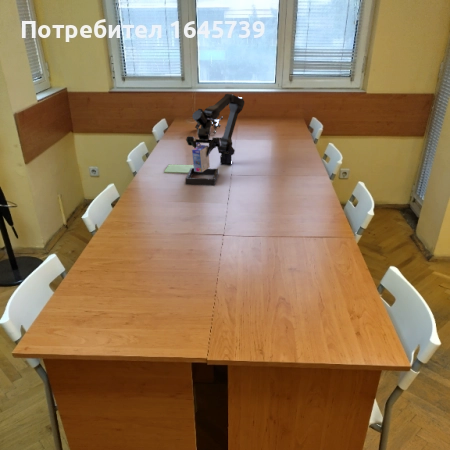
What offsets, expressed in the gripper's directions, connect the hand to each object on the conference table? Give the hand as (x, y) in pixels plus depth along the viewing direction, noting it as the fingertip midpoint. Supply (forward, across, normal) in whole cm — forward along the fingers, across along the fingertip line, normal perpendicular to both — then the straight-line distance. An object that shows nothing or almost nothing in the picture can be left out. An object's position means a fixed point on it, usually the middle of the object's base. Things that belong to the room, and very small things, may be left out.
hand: (201, 155), depth 249 cm
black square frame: (+10, 0, +9) cm, 13 cm away
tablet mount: (-73, -27, +81) cm, 112 cm away
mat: (-1, -15, +19) cm, 25 cm away
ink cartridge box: (+6, 0, +5) cm, 8 cm away
